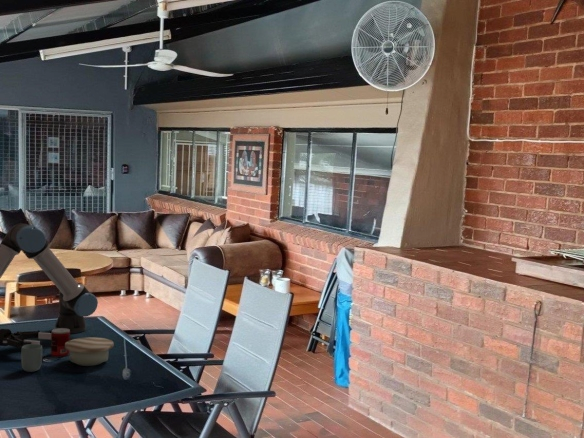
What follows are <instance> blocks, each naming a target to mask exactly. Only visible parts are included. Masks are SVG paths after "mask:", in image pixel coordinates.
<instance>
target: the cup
mask: <svg viewBox="0 0 584 438" xmlns="http://www.w3.org/2000/svg"><path fill="white" fill-rule="evenodd" d="M20 351H21V352H20V353H21V354H20V355H21V356H20V359H21V360H20V361H21V366H22V369H23V371H25V372H27V373H28V372H29V373H33V372H37V371H38V370H40V368H41V366H42V362H43V345H42V344H40V345H39V344H28V345H24V346H22V349H21V348H20Z"/></svg>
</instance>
